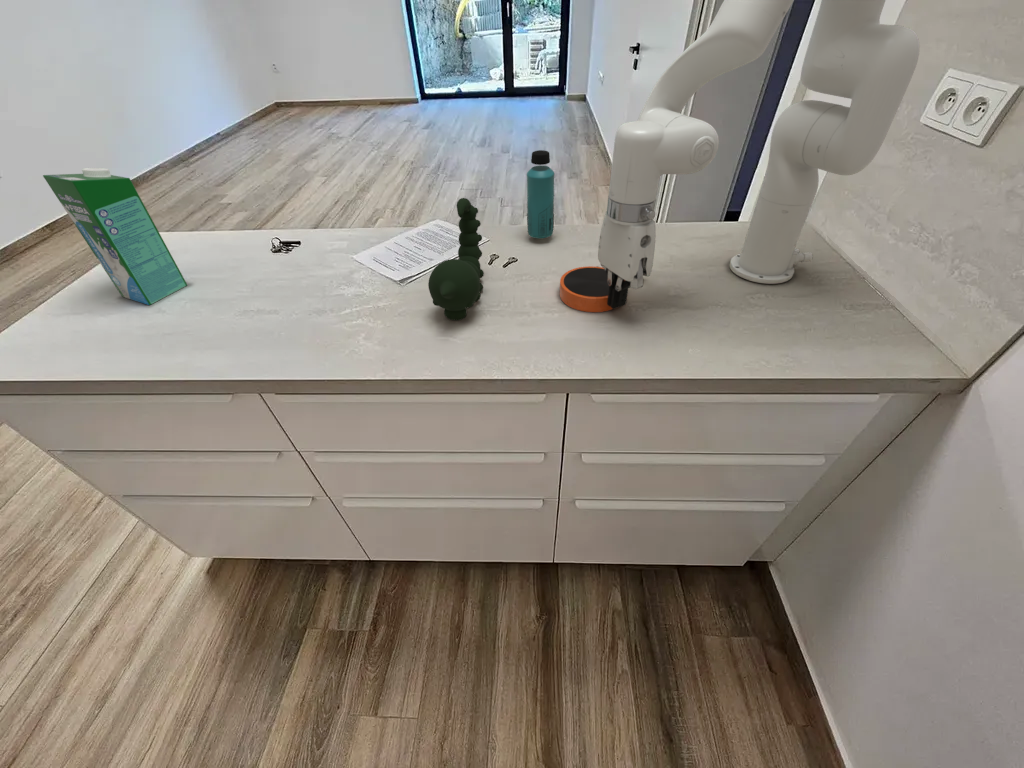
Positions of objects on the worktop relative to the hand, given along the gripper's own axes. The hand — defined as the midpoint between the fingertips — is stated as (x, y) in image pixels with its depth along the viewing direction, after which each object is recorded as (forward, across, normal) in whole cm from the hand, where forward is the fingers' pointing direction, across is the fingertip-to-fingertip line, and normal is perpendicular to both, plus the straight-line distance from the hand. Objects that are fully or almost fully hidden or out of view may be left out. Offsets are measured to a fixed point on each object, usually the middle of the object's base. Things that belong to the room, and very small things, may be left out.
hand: (616, 304), depth 89 cm
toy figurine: (+2, +19, +23) cm, 30 cm away
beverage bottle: (+2, +36, -5) cm, 37 cm away
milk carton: (+3, +57, +79) cm, 98 cm away
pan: (+2, +8, -4) cm, 9 cm away
